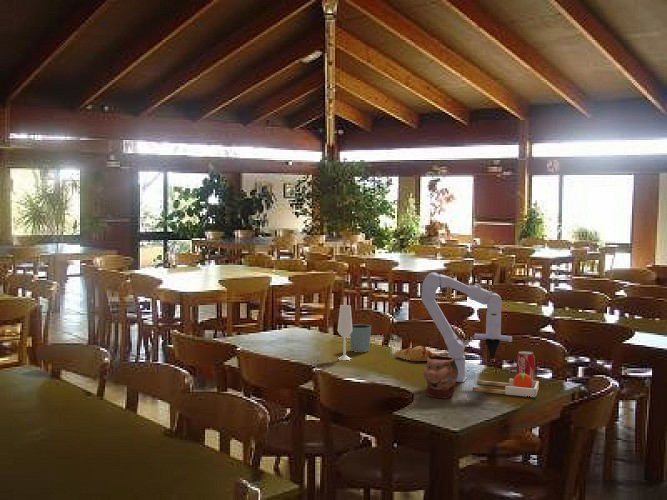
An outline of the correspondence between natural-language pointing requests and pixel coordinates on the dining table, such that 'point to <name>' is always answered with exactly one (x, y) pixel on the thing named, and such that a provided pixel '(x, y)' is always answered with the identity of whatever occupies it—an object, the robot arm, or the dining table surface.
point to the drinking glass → (360, 337)
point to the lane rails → (490, 389)
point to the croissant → (415, 354)
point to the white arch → (522, 389)
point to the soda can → (526, 363)
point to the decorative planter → (440, 376)
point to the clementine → (522, 380)
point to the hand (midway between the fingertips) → (492, 358)
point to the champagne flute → (345, 327)
